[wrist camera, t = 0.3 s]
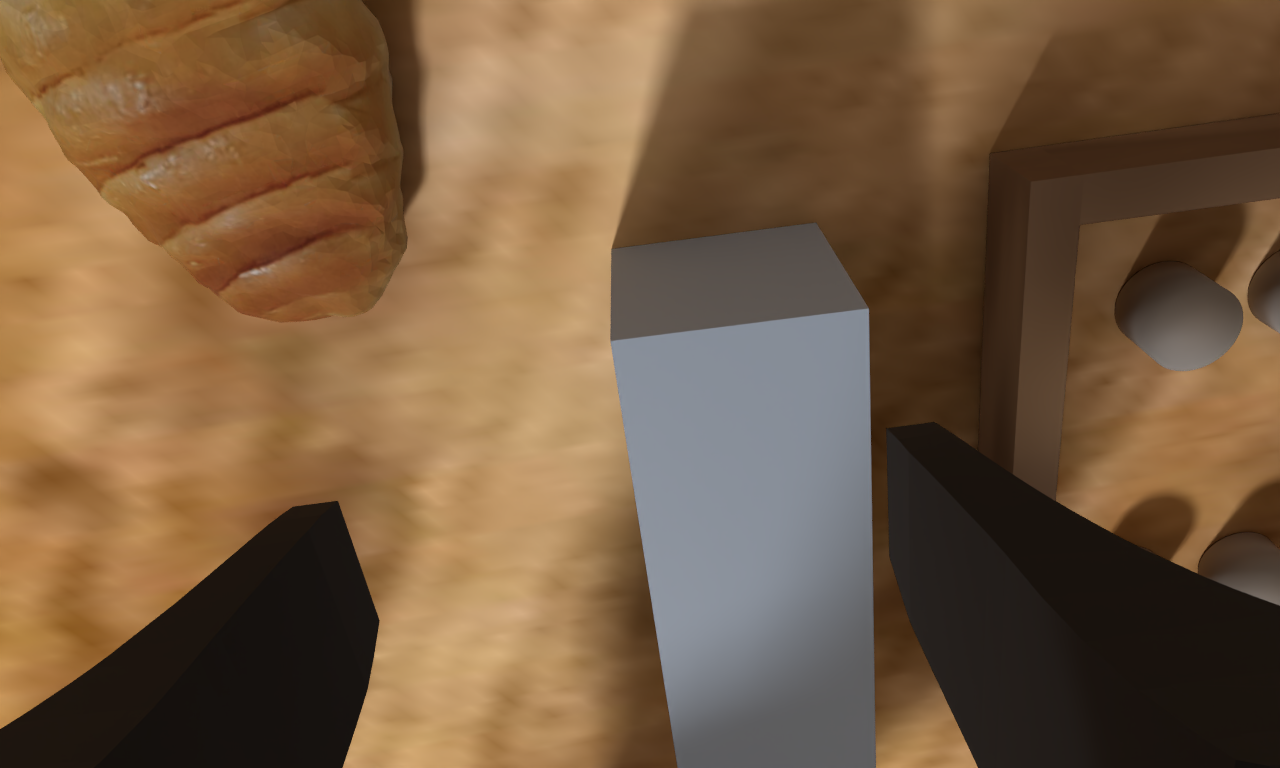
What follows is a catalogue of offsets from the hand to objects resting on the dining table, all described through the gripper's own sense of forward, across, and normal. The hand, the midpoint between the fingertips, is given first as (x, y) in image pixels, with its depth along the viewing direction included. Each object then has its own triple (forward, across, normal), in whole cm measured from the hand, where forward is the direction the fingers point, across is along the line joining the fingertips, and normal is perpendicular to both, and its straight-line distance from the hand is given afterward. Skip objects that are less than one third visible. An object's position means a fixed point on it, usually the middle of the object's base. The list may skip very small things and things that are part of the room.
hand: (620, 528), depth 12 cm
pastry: (+10, +7, -6) cm, 13 cm away
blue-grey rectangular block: (+10, -2, +6) cm, 12 cm away
